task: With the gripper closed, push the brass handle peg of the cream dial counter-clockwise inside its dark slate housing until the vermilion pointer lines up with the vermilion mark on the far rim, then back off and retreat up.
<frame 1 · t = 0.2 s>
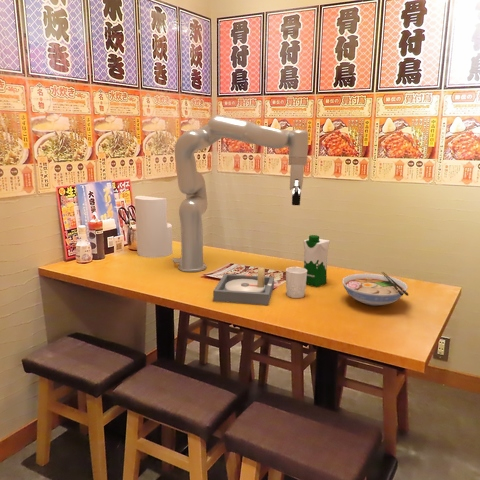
hand: (296, 203, 188), 31 cm above the table, fingers open, 9 cm apart
white cup: (295, 295, 172), on the table
milk carton: (314, 283, 185), on the table
ramen bowl: (372, 302, 166), on the table
cylinder: (155, 253, 228), on the table
dial: (245, 279, 172), point 6 cm above the table, hinge at 0.0°
dial housing: (245, 293, 173), on the table
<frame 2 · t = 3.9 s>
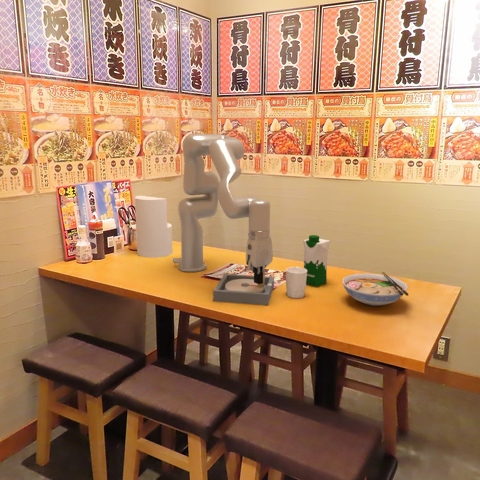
hand: (258, 282, 167), 6 cm above the table, fingers closed
dial: (245, 279, 172), point 6 cm above the table, hinge at 0.7°, touching gripper
everything else where it was.
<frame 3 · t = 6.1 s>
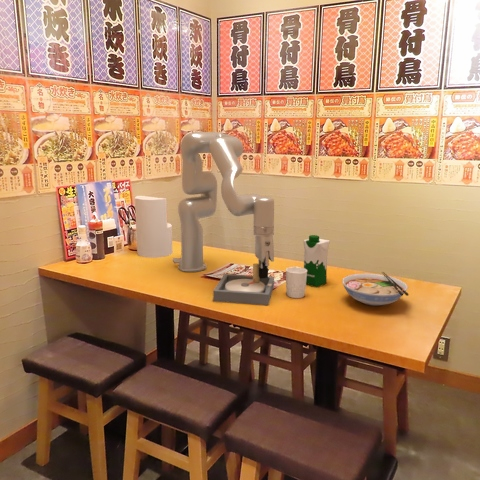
hand: (263, 277, 173), 6 cm above the table, fingers closed
dial: (245, 279, 172), point 6 cm above the table, hinge at 53.5°, touching gripper
everything else where it was.
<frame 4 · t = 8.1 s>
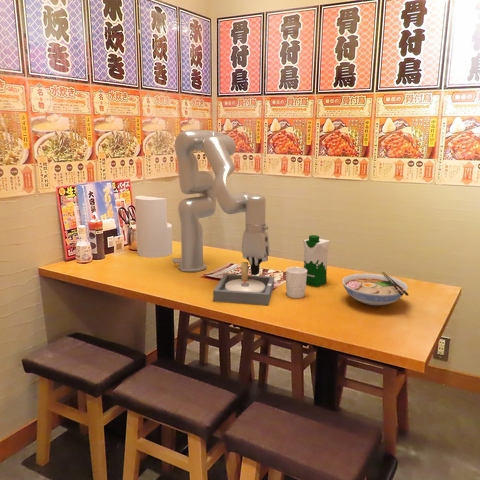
hand: (255, 274, 177), 6 cm above the table, fingers closed
dial: (245, 279, 172), point 6 cm above the table, hinge at 100.8°, touching gripper
everything else where it was.
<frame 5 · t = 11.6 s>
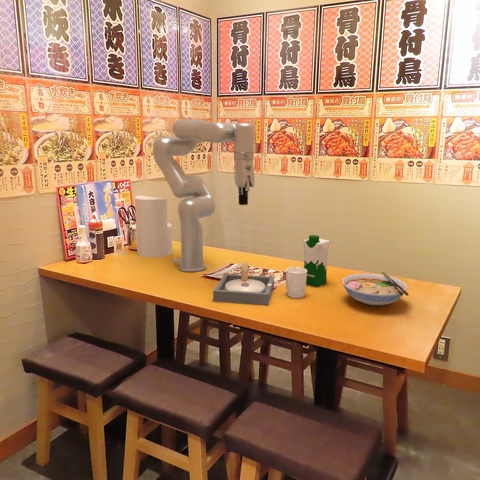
hand: (243, 204, 177), 32 cm above the table, fingers closed
dial: (245, 279, 172), point 6 cm above the table, hinge at 100.9°
everything else where it was.
at the end: dial at +101° (first picture: +0°) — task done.
